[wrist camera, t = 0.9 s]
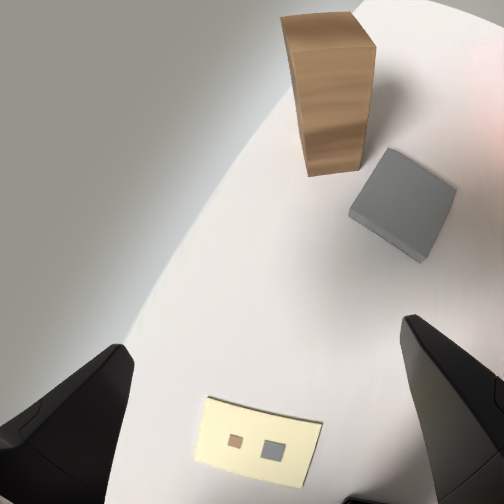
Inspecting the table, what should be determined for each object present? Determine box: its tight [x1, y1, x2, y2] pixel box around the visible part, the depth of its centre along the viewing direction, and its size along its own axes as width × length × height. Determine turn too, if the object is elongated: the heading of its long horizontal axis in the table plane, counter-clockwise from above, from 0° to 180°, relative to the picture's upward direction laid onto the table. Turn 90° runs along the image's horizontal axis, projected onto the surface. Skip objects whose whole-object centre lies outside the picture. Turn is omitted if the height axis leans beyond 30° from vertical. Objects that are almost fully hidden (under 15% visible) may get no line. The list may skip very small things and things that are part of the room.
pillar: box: [280, 12, 376, 177], centre depth 19 cm, size 4×4×13 cm
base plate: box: [348, 148, 457, 263], centre depth 21 cm, size 7×7×2 cm
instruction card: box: [193, 397, 321, 488], centre depth 19 cm, size 9×6×1 cm, turn 78°
